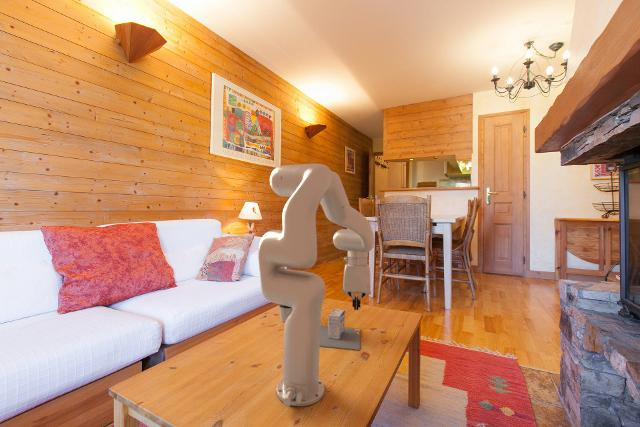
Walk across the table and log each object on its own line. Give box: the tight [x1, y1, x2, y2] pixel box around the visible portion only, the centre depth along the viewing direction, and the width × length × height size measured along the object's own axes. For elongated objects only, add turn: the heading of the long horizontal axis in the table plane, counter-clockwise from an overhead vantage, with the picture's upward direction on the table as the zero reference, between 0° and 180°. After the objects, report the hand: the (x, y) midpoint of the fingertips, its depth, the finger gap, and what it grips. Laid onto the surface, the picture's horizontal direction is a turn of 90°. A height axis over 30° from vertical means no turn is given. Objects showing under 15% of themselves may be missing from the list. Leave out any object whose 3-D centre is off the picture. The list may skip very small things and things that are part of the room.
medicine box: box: [327, 308, 346, 340], centre depth 112 cm, size 8×4×9 cm, turn 161°
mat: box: [320, 324, 361, 351], centre depth 112 cm, size 18×22×1 cm
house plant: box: [278, 304, 293, 323], centre depth 125 cm, size 14×14×16 cm
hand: (356, 308), depth 112 cm, fingers closed
